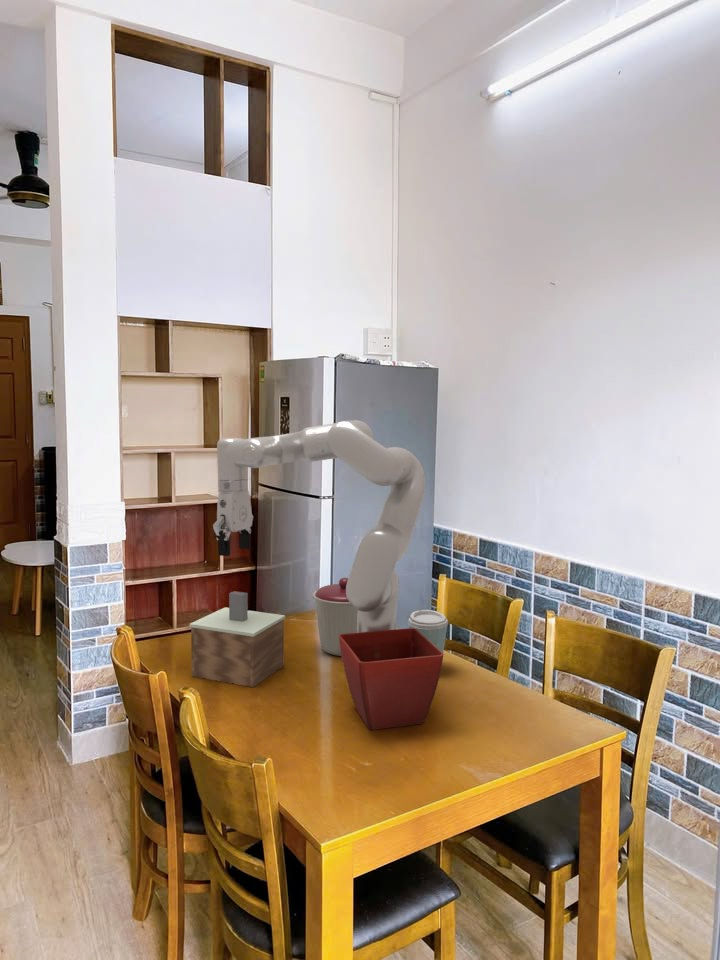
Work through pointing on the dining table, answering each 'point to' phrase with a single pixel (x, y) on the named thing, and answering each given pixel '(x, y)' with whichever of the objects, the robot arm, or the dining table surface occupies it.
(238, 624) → the lid
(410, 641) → the plant pot
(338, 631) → the canister
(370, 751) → the dining table surface
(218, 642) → the box
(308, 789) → the dining table surface
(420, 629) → the disposable coffee cup
